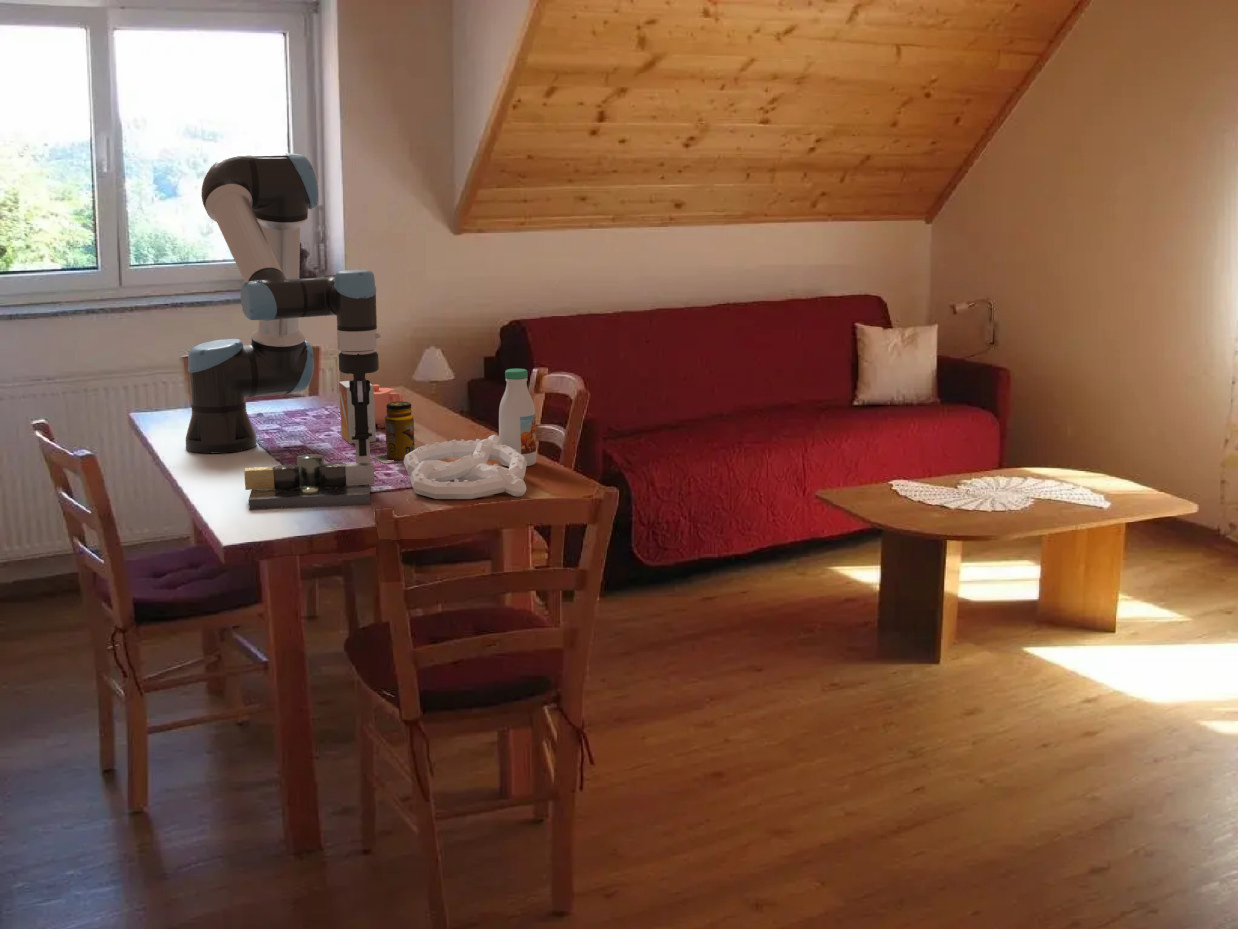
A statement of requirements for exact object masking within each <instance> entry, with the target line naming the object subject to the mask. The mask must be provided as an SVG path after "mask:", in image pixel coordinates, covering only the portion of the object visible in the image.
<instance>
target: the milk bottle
mask: <svg viewBox="0 0 1238 929" xmlns="http://www.w3.org/2000/svg"><path fill="white" fill-rule="evenodd" d="M504 374H505V375H504V376H505V377H504V378H505V382H506V386H505V390H504V392H503V394H502V397H501V400H500V403H499V406H498V407H499V408H498V436H499V437H501V439H502V442H503V445H507V446H508V447H511V448H512V449H514V450H516V451H517V452H518V453H519V454H521V455H522V456H524V457H525V459H526V461H527V465H526V467H530V466H533V465H535V464H536V463H537V425H536V424H537V420H536V419H537V416H536V407H535V403H534V400H533V397H532V396H531V393H530V391H529V388H528V384H527V381H529V380H528V376H529V375H528V370H527V369H526V368H508V369H506V370H505V372H504ZM499 462H500V465H501V466H504V467H508V466H507V465H505V464H504V463H502V462H501V461H499Z"/></svg>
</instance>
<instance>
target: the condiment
mask: <svg viewBox="0 0 1238 929" xmlns="http://www.w3.org/2000/svg"><path fill="white" fill-rule="evenodd" d="M386 407H387V411H386V413H387V415H386V417H385V430H384V431H385V450H386V452H385V454H382V455H372V456H371V458H373V459H375V460H376V461H379V462H381V463H383V464H385V465H386V464H392V463H399V462H404V461H403V460H404V458H405V455H407V454H408V453H410V452H412V451H414V450H415V449H416V448H415V447H416V446H415V445H416V444H415V429H414V428H415V424H414V423H415V422H414V415H413V414H412V412H413V410H412V403H411V402H408V401H404V400H403V401H397V402H390V403H388V404H387V406H386ZM387 460H394V461H393V462H392V461H387ZM397 461H398V462H397Z"/></svg>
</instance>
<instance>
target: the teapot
mask: <svg viewBox="0 0 1238 929" xmlns="http://www.w3.org/2000/svg"><path fill="white" fill-rule="evenodd" d="M372 385H373V390H374V410H375V425H377V428H378V429H384V428H385V417H386V415H387V413H386V411H387V407H386V406H387V404H388V403H390V402H397V401H403V402H404V400H403V393H402V392H396V391H395V389H394V388H390V387H381V385H380V384H372Z"/></svg>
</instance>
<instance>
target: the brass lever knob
mask: <svg viewBox="0 0 1238 929" xmlns="http://www.w3.org/2000/svg"><path fill="white" fill-rule="evenodd" d="M243 473H244V486H245V488H244V489H245V491H251V490H256V489H278V490H290V489H295V488H298V487H300V477H299V466H297V465H295V464H281V465H280V464H279V465H275V466H263V467H262V466H260V467H244V471H243Z"/></svg>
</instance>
